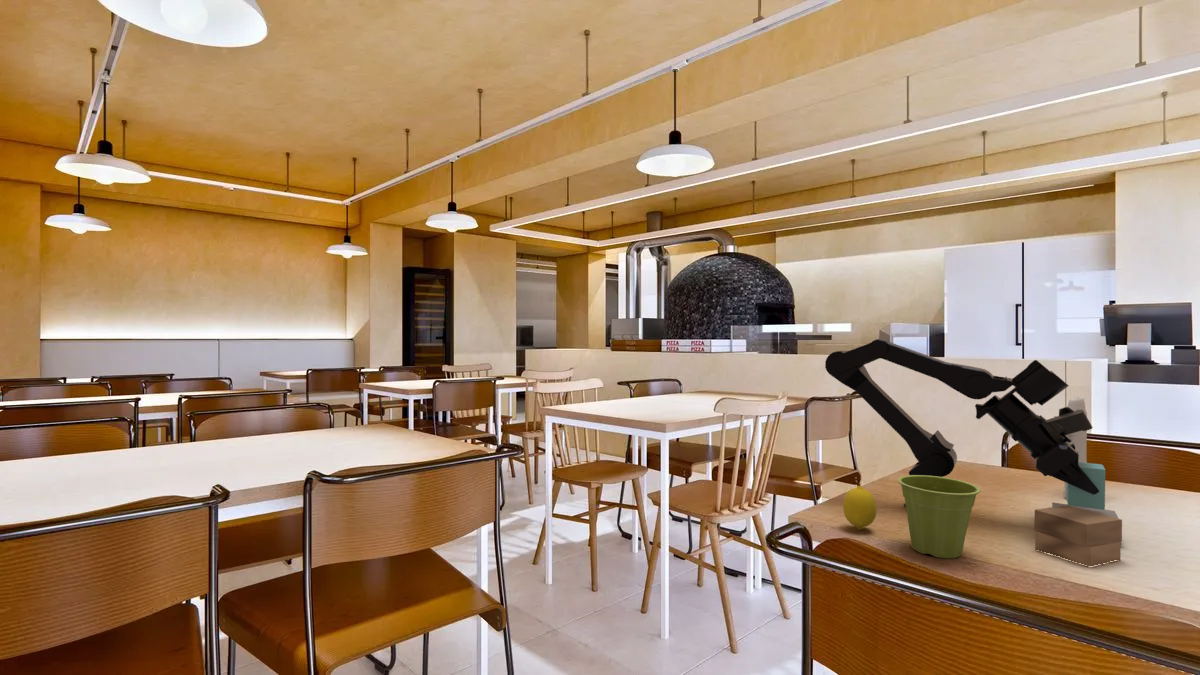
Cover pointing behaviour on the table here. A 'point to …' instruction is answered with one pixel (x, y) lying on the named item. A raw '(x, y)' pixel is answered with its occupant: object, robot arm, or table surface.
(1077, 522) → the tower upper
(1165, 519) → the table surface
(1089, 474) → the teal block
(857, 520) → the lemon
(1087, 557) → the tower lower
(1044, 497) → the table surface
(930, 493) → the plant pot
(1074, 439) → the tall pale column
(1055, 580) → the table surface
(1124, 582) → the table surface
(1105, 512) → the grey flat square block
